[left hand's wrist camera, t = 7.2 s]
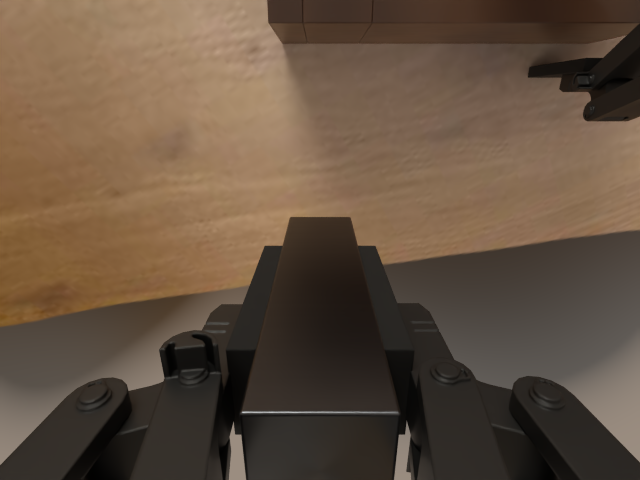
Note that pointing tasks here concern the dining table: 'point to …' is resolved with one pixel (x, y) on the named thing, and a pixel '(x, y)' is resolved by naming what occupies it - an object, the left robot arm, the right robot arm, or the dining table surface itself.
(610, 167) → the dining table surface
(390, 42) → the peg block
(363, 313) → the peg
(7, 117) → the dining table surface
